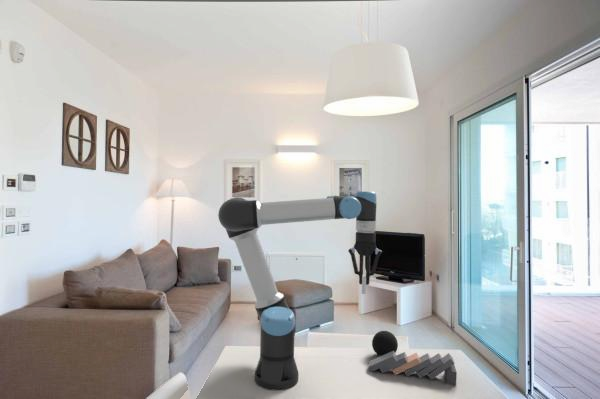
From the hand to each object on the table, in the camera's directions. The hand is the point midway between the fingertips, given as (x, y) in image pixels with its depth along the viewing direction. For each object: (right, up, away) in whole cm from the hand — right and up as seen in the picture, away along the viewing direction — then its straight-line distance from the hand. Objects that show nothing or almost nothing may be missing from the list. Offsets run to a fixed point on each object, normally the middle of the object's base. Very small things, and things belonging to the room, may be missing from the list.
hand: (364, 292), depth 152 cm
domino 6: (+21, -26, -11) cm, 36 cm away
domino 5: (+18, -26, -10) cm, 33 cm away
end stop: (+28, -27, -13) cm, 41 cm away
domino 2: (+5, -26, -7) cm, 27 cm away
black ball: (+9, -27, +5) cm, 29 cm away
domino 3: (+10, -26, -8) cm, 29 cm away
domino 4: (+14, -26, -9) cm, 31 cm away
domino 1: (+1, -26, -6) cm, 27 cm away
